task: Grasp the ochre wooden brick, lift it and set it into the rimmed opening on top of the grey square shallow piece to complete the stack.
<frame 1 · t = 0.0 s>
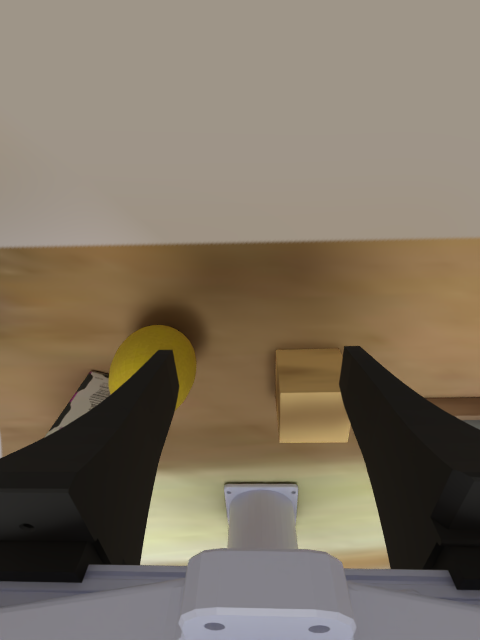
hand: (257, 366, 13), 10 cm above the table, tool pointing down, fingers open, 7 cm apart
lemon: (168, 335, 25), on the table
candy bar box: (112, 416, 30), on the table
grey square shallow piece: (428, 437, 30), on the table
brick: (305, 372, 26), on the table
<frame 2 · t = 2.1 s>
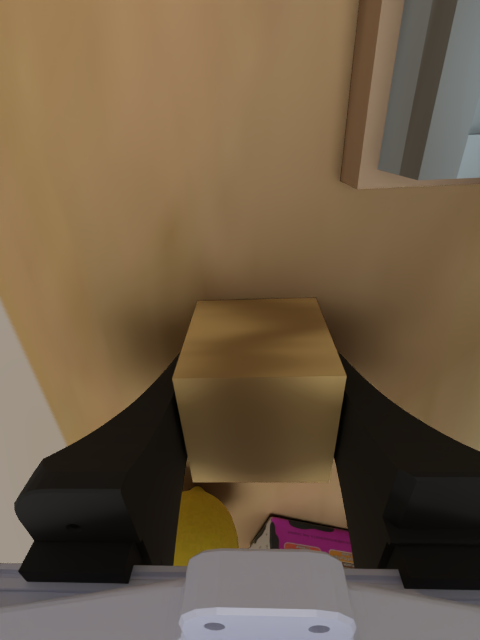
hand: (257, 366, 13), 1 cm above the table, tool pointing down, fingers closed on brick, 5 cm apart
lemon: (198, 484, 21), on the table
candy bar box: (328, 540, 24), on the table
brick: (257, 347, 15), on the table, touching gripper
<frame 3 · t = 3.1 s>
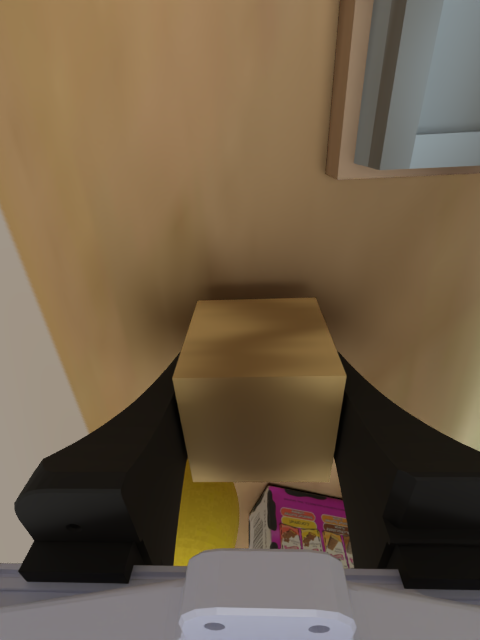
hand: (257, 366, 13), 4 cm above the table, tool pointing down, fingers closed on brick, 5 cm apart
lemon: (202, 455, 22), on the table
candy bar box: (321, 510, 26), on the table
brick: (257, 347, 15), point 2 cm above the table, touching gripper
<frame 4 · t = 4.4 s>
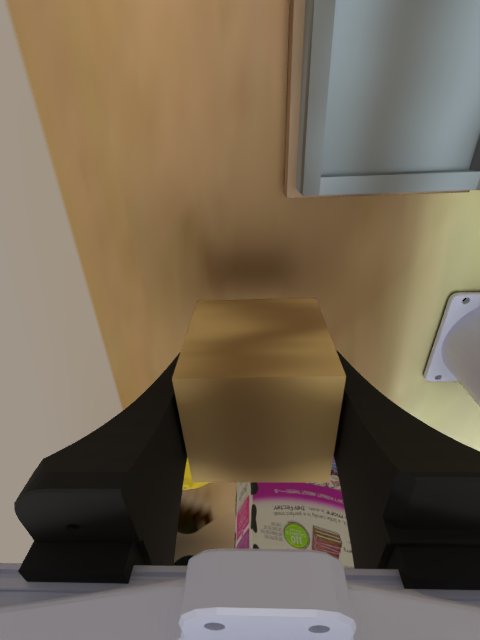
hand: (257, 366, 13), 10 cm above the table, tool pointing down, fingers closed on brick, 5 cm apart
candy bar box: (295, 451, 32), on the table
grey square shallow piece: (381, 89, 17), on the table
brick: (256, 347, 15), point 9 cm above the table, touching gripper
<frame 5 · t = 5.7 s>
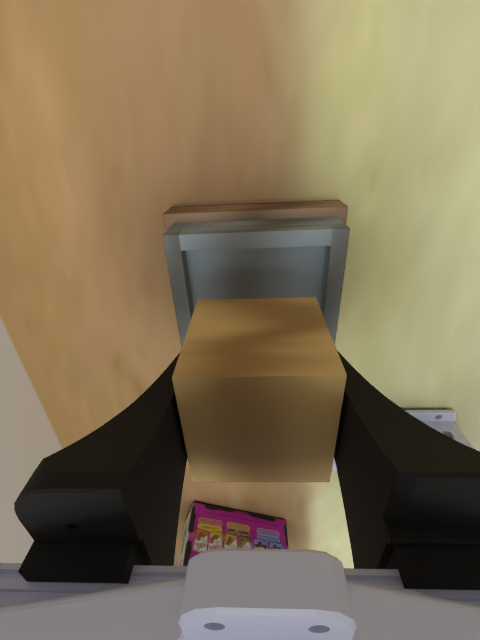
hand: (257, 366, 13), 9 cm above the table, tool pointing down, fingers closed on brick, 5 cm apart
candy bar box: (235, 518, 37), on the table
grey square shallow piece: (255, 281, 21), on the table
brick: (257, 346, 15), point 8 cm above the table, touching gripper
when the fingers open (6 cm above the table, at t = 6.9 s): brick stays where it is, resting on grey square shallow piece.
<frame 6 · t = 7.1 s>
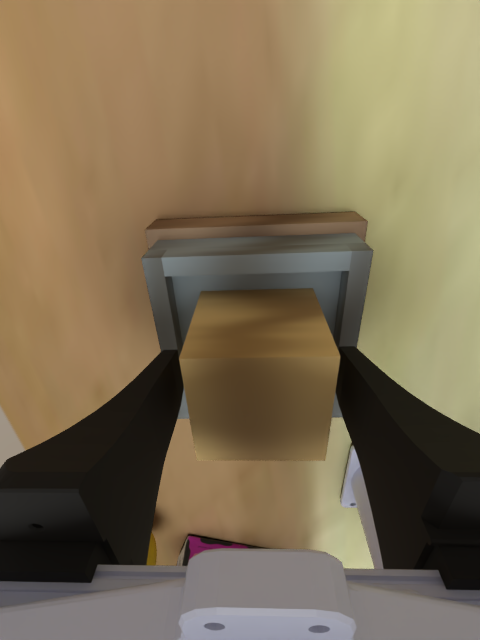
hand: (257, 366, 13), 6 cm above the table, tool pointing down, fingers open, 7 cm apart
candy bar box: (233, 551, 34), on the table
grey square shallow piece: (256, 303, 18), on the table
brick: (257, 336, 15), point 3 cm above the table, touching grey square shallow piece
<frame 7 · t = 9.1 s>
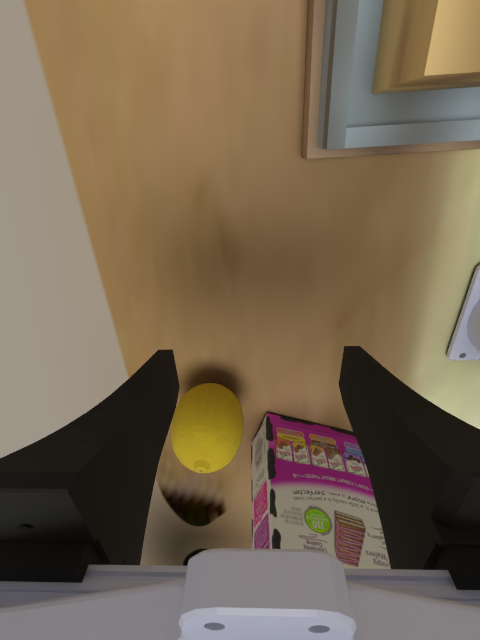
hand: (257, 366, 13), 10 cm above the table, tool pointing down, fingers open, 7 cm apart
lemon: (213, 387, 28), on the table
candy bar box: (310, 438, 31), on the table
grey square shallow piece: (406, 38, 16), on the table
brick: (444, 14, 13), point 3 cm above the table, touching grey square shallow piece
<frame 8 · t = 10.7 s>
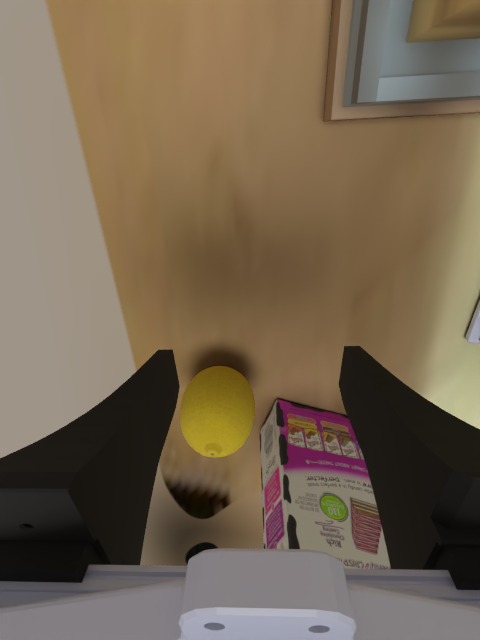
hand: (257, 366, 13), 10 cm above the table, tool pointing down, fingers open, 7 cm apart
lemon: (222, 371, 27), on the table
candy bar box: (321, 426, 30), on the table
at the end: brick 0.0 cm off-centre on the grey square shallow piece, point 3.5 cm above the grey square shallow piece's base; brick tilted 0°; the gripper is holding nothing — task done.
